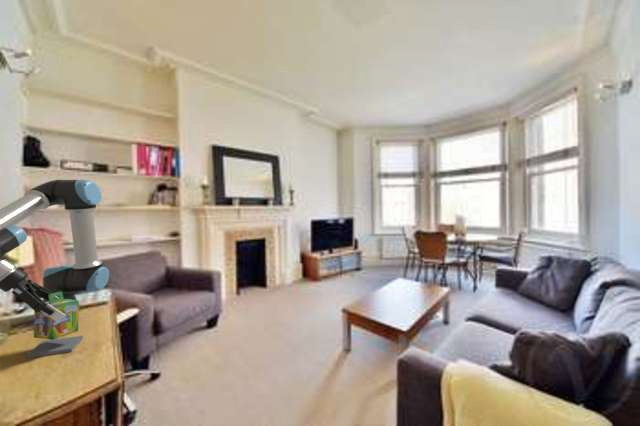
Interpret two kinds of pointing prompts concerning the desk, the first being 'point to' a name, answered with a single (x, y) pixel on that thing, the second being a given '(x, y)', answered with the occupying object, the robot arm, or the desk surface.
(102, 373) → the desk surface
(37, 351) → the charcoal mat
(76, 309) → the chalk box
